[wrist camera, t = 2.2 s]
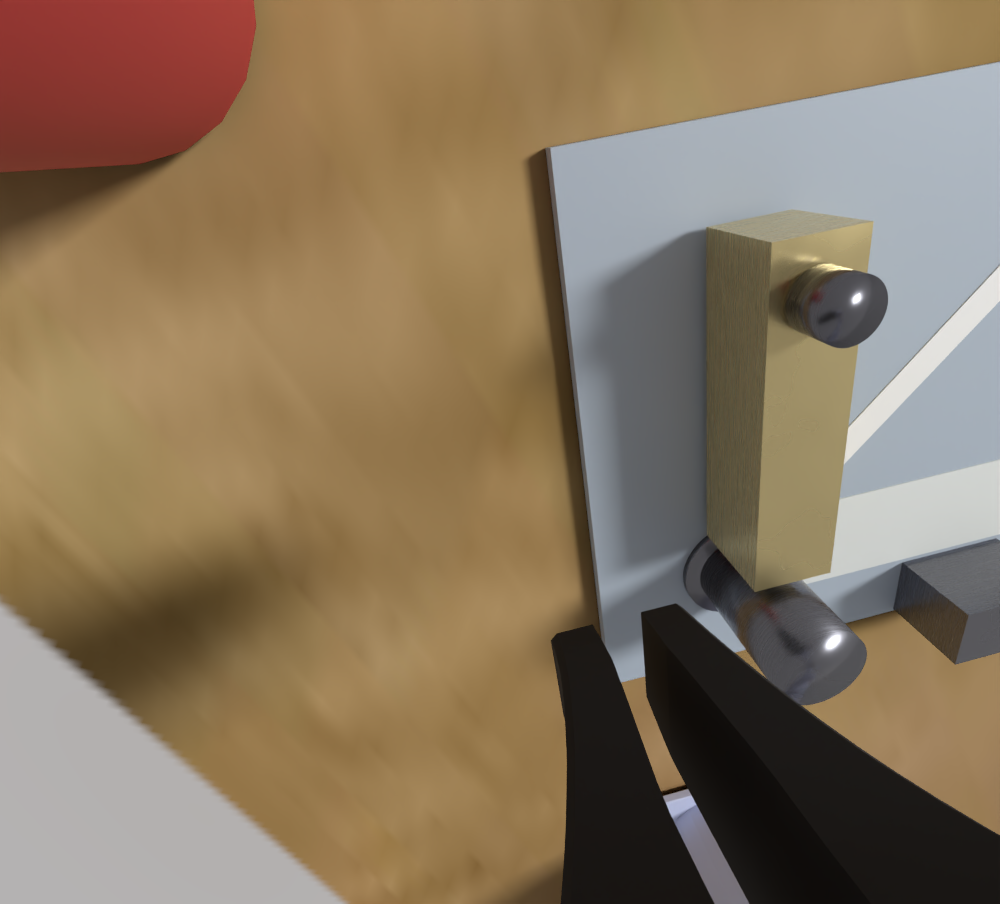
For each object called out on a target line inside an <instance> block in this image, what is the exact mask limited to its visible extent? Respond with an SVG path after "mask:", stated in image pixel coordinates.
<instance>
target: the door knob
mask: <svg viewBox="0 0 1000 904" xmlns="http://www.w3.org/2000/svg"><path fill="white" fill-rule="evenodd" d="M683 582H684V586H685V589H686V591H687V593H688V594H689V595H690V597H691V598H692V600H693V601H694V602H695V603H696V604H697V605H699V606H700V607H702V608H704V609H706V610H710V611H716V612H719V613H720V615H721V616H722V617H723V619H724V620H725V621H726V623H727V624H728V626H729V627H730V628H731V630H732V631H733V632H734V634H735V635H736V637H737V638H738V639H739V641H740V642H741V643H742V645H743V646H744V648H745V649H746V650H747V652H748V653H749V654H750V656H751V657H752V659H753V660H754V661H755V663H756V664H757V665H758V667H759V668H760V670H761V671H762V672H763V674H764V675H765V676H766V678H767V679H768V680H769V681H770V682H771V683H773V684H774V685H775V686H777V687H778V688H779V689H780V690H782V691H783V692H784V693H786V694H787V695H788V696H789V697H791V698H792V699H793V700H795V701H796V702H797V703H798V704H800V705H810V704H815V703H819V702H822V701H825V700H827V699H829V698H831V697H833V696H835V695H837V694H839V693H840V692H842V691H843V690H844V689H846V688H847V687H848V686H849V685H850V684H851V683H852V682H853V681H854V680H855V679H856V678H857V677H858V675H859V674H860V672H861V671H862V669H863V667H864V664H865V661H866V656H867V652H866V647H865V645H864V643H863V642H862V641H861V640H860V639H859V637H858V636H857V635H856V634H855V633H854V632H853V631H852V630H851V629H850V628H849V627H848V626H847V625H846V624H845V623H844V622H843V621H842V620H841V619H840V618H839V617H838V616H837V615H836V614H835V613H834V612H833V611H832V610H831V609H830V608H829V607H828V606H827V605H826V604H825V603H824V602H823V601H822V600H821V599H820V598H819V596H818V595H817V594H816V593H815V592H814V591H813V590H812V589H811V588H810V587H809V586H808V585H807V584H806V583H805V582H804V581H803V580H800V581H796V582H792V583H788V584H784V585H780V586H776V587H773V588H769V589H765V590H761V591H757V592H754V590H753V589H752V588H751V587H750V586H749V584H748V583H747V582H746V581H745V580H744V579H743V577H742V576H741V575H740V574H739V573H738V571H737V570H736V569H735V568H734V567H733V565H732V564H731V563H730V562H729V561H728V560H727V558H726V557H725V556H724V555H723V554H722V552H721V551H720V550H719V549H718V548H717V546H716V545H715V544H714V543H713V542H712V541H711V539H710V538H709V537H708V536H706V537H705V538H703V539H702V540H701V541H700V542H699V543H698V544H697V545H696V547H695V548H694V549H693V550H692V552H691V553H690V555H689V557H688V559H687V561H686V564H685V567H684V571H683Z"/></svg>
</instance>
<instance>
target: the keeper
mask: <svg viewBox="0 0 1000 904" xmlns="http://www.w3.org/2000/svg"><path fill="white" fill-rule="evenodd" d="M893 609H894V610H895V611H896V612H897V613H898V614H900V615H901V616H902V617H903V618H904V619H905V620H906V621H907V622H909V623H910V624H911V625H912V626H913V627H914V628H915V629H916V630H917V631H919V632H920V633H921V634H922V635H923V636H924V637H925V638H926V639H927V640H929V641H930V642H931V643H932V644H933V645H934V646H935V647H936V648H937V649H939V650H940V651H941V652H942V653H943V654H944V655H945V656H946V657H947V658H949V659H950V660H951V661H952V662H953V663H954V664H959V663H962V662H966V661H970V660H973V659H977V658H981V657H984V656H988V655H992V654H995V653H999V652H1000V540H998V539H997V538H995V539H991V540H987V541H983V542H979V543H975V544H972V545H968V546H964V547H960V548H956V549H952V550H948V551H944V552H941V553H937V554H933V555H929V556H925V557H921V558H917V559H913V560H910V561H906V562H902V566H901V571H900V576H899V581H898V586H897V592H896V597H895V602H894V607H893Z"/></svg>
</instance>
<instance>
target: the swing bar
mask: <svg viewBox="0 0 1000 904" xmlns="http://www.w3.org/2000/svg"><path fill="white" fill-rule="evenodd" d="M873 223H874V221H869V220H862V219H855V218H848V217H841V216H835V215H828V214H821V213H814V212H807V211H800V210H793V209H791V210H786V211H781V212H777V213H772V214H767V215H762V216H757V217H752V218H747V219H742V220H738V221H733V222H728V223H723V224H718V225H713V226H708V227H706V409H707V536H708V537H709V538H710V539H711V541H712V542H713V543H714V544H715V545H716V546H717V548H718V549H719V550H720V551H721V552H722V554H723V555H724V556H725V557H726V558H727V560H728V561H729V562H730V563H731V564H732V565H733V567H734V568H735V569H736V570H737V571H738V573H739V574H740V575H741V576H742V577H743V579H744V580H745V581H746V582H747V583H748V584H749V586H750V587H751V588H752V589H753V590H754V592H757V591H761V590H765V589H769V588H773V587H776V586H780V585H784V584H788V583H792V582H796V581H800V580H804V579H808V578H811V577H815V576H819V575H823V574H827V573H830V572H831V564H832V556H833V547H834V539H835V531H836V523H837V515H838V507H839V499H840V491H841V483H842V475H843V466H844V458H845V450H846V442H847V434H848V426H849V418H850V410H851V402H852V394H853V385H854V377H855V369H856V361H857V353H858V345H859V344H860V343H861V342H863V341H864V340H866V339H867V338H868V337H870V336H871V335H872V334H873V333H874V332H875V330H876V329H877V328H878V327H879V325H880V324H881V322H882V320H883V318H884V316H885V313H886V310H887V306H888V292H887V289H886V286H885V284H884V283H883V281H882V280H881V279H880V278H878V277H877V276H875V275H872V274H869V273H867V272H868V264H869V256H870V248H871V240H872V232H873Z"/></svg>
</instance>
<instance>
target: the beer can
mask: <svg viewBox="0 0 1000 904" xmlns="http://www.w3.org/2000/svg"><path fill="white" fill-rule="evenodd" d="M255 29H256V19H255V10H254V0H0V172H15V171H32V170H49V169H65V168H82V167H99V166H115V165H132V164H142V163H145V162H148V161H152V160H155V159H159V158H162V157H165V156H169V155H172V154H175V153H179V152H182V151H185V150H187V149H188V148H189V147H191V146H192V145H193V144H194V143H196V142H197V141H198V140H199V139H201V138H202V137H203V136H204V135H206V134H207V133H208V132H210V131H211V130H212V129H213V128H215V127H216V126H217V125H218V124H220V123H221V122H222V120H223V119H224V117H225V115H226V114H227V112H228V110H229V108H230V107H231V105H232V103H233V101H234V100H235V98H236V96H237V94H238V93H239V91H240V89H241V87H242V86H243V84H244V82H245V81H246V77H247V72H248V67H249V61H250V56H251V50H252V45H253V40H254V34H255Z"/></svg>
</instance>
